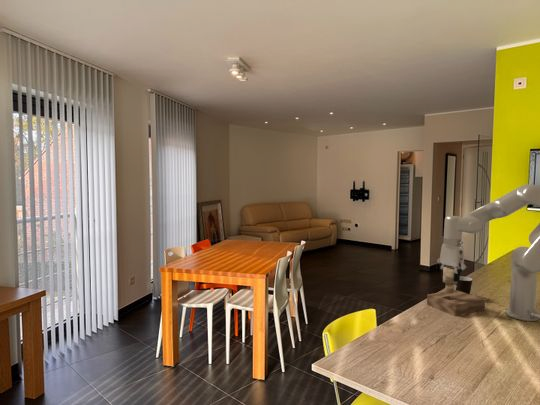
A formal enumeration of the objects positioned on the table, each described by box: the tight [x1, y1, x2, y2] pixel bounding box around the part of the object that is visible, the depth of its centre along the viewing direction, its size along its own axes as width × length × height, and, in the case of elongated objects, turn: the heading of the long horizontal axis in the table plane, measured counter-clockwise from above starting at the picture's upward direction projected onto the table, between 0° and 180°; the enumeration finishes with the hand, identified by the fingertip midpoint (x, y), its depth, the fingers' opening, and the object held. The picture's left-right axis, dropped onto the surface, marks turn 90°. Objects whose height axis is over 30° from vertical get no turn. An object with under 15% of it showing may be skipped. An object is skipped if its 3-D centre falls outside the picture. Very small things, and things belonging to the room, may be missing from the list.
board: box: [426, 289, 486, 317], centre depth 177 cm, size 16×20×5 cm
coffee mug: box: [454, 275, 473, 295], centre depth 193 cm, size 12×9×10 cm
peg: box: [442, 266, 458, 293], centre depth 175 cm, size 6×6×11 cm
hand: (450, 279), depth 175 cm, fingers closed on peg, 6 cm apart
